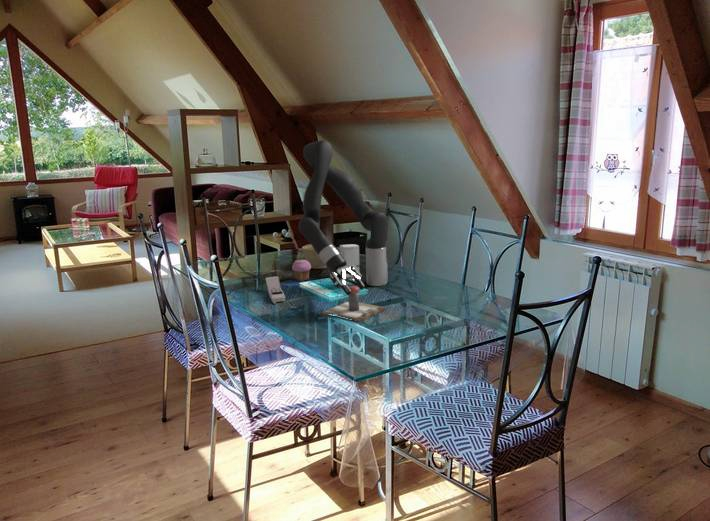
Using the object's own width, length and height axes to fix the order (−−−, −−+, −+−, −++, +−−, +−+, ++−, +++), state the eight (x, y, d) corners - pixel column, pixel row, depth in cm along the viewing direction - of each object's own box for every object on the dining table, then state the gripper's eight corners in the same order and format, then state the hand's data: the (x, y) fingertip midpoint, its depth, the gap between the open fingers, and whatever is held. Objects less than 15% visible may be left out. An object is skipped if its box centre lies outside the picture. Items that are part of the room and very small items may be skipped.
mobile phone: (278, 275, 267) (285, 290, 244) (279, 288, 269) (286, 303, 245) (264, 277, 266) (271, 291, 242) (266, 289, 267) (272, 305, 244)
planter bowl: (340, 265, 307) (339, 244, 305) (322, 272, 294) (321, 250, 291) (315, 262, 316) (314, 242, 313) (297, 268, 302) (295, 248, 300)
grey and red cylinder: (353, 307, 234) (352, 285, 232) (361, 308, 232) (360, 286, 229) (347, 310, 231) (346, 287, 229) (355, 311, 228) (354, 289, 226)
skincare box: (344, 277, 282) (343, 247, 279) (339, 274, 288) (338, 244, 284) (360, 275, 286) (359, 245, 282) (355, 272, 291) (354, 243, 288)
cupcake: (300, 283, 274) (298, 262, 272) (289, 280, 281) (288, 259, 278) (315, 279, 280) (314, 259, 278) (304, 276, 286) (303, 256, 284)
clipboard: (350, 302, 244) (350, 297, 243) (386, 309, 233) (386, 304, 233) (322, 314, 230) (322, 309, 229) (359, 322, 219) (359, 317, 219)
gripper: (325, 256, 225) (350, 290, 221) (348, 249, 236) (372, 281, 232) (315, 268, 229) (340, 301, 225) (338, 261, 240) (362, 292, 236)
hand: (356, 291), depth 229 cm, fingers open, 8 cm apart
